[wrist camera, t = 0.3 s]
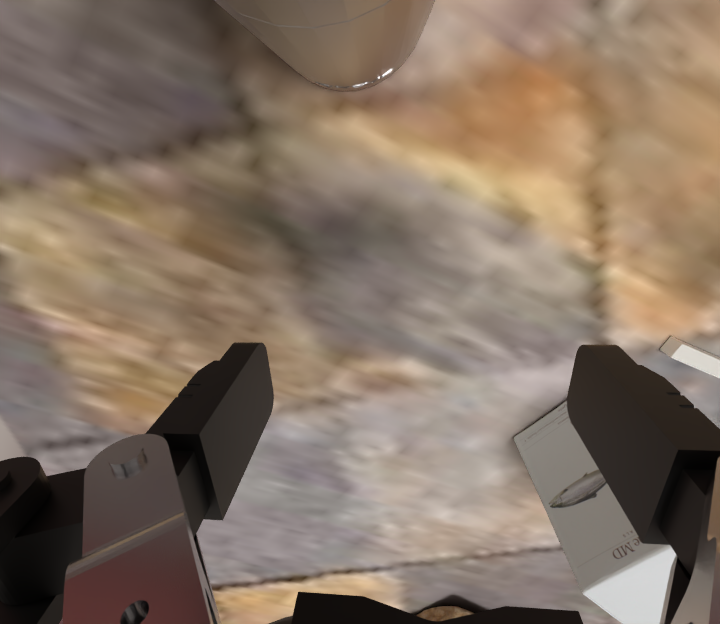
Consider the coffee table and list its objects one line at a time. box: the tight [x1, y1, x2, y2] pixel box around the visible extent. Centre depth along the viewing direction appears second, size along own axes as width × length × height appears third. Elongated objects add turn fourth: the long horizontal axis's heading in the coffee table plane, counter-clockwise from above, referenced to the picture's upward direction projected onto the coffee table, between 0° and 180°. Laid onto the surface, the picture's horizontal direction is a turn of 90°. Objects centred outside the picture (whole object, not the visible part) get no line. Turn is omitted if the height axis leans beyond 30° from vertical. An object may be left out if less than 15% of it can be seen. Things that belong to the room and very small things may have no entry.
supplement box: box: [514, 401, 676, 624], centre depth 27 cm, size 7×7×13 cm
